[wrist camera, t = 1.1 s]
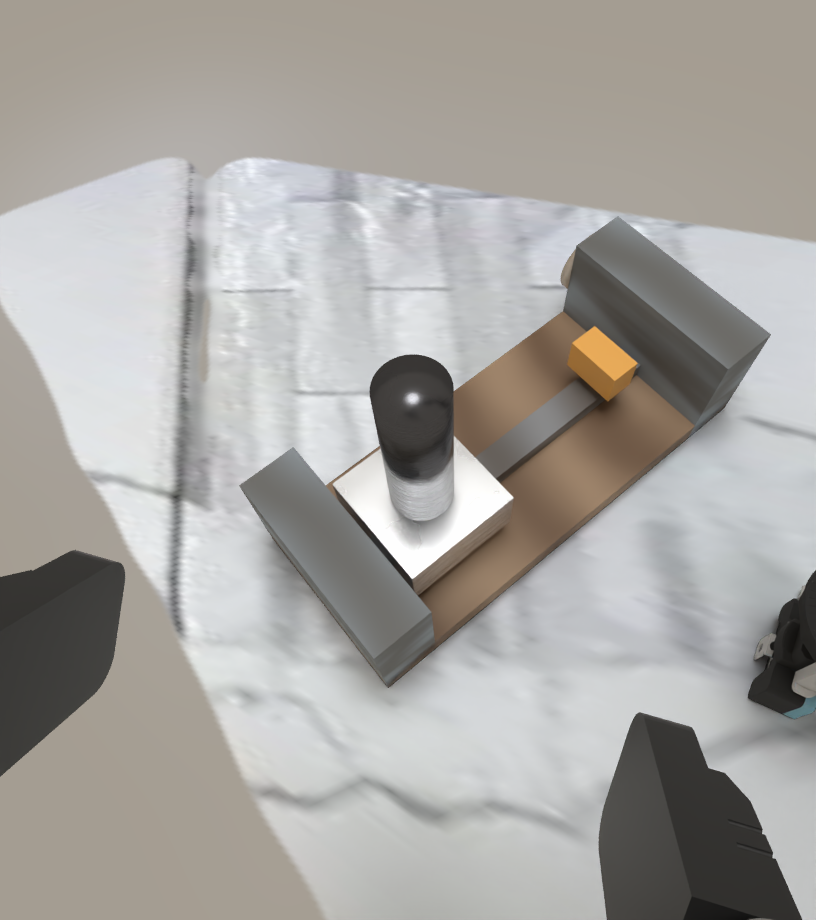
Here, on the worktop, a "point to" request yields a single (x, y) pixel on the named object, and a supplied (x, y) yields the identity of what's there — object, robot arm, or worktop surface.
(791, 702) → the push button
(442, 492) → the carriage
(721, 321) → the rail base
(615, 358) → the orange block
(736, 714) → the worktop surface
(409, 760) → the worktop surface
